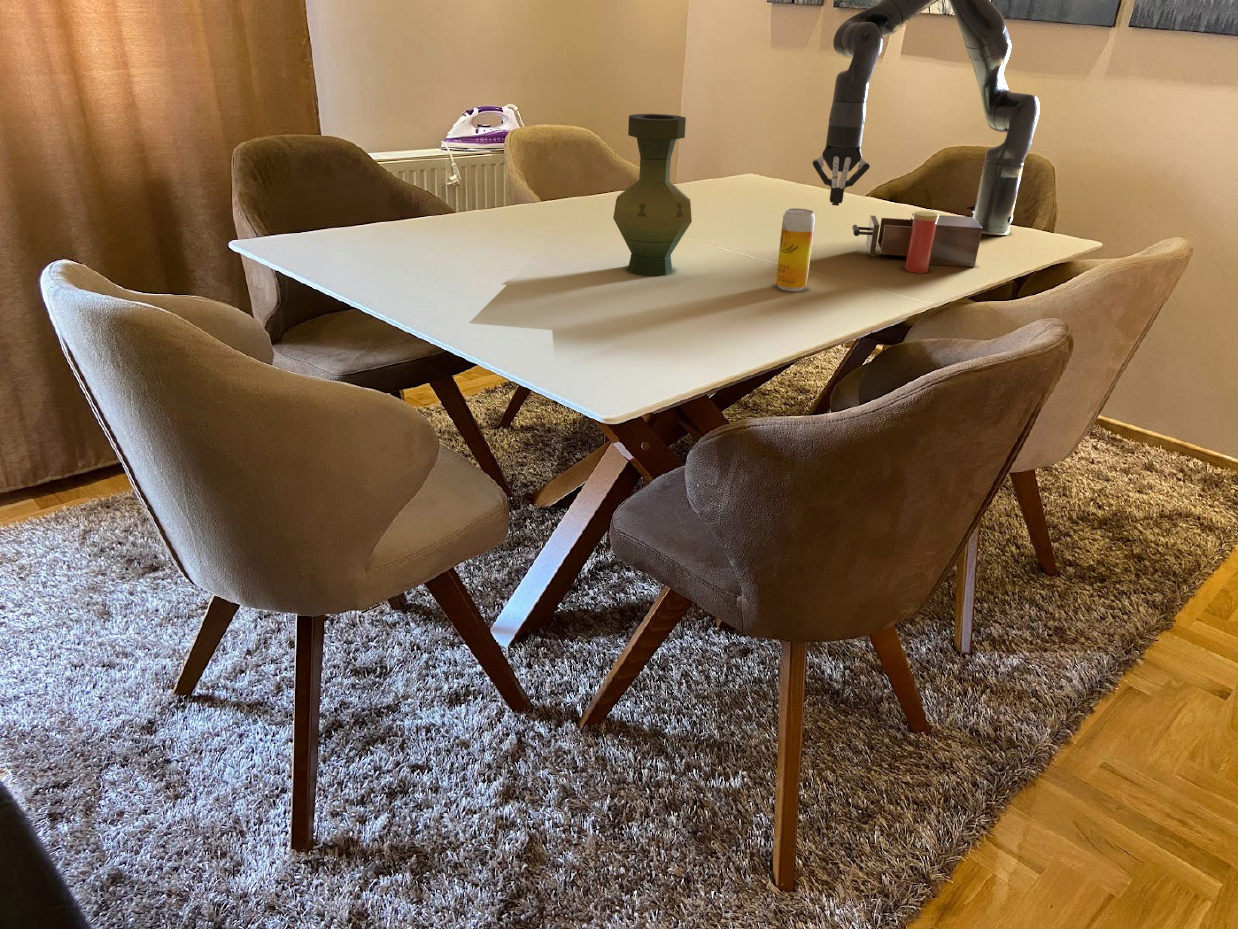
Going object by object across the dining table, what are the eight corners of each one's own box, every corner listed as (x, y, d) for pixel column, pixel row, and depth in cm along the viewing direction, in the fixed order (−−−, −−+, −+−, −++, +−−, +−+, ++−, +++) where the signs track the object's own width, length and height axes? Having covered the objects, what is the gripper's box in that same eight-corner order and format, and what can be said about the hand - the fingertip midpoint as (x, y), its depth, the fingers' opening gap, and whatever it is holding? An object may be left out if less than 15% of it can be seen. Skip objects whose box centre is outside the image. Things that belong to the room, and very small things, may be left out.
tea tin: (903, 266, 202) (912, 210, 196) (926, 267, 201) (936, 212, 196) (905, 272, 197) (915, 215, 192) (929, 273, 197) (940, 216, 191)
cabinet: (911, 262, 205) (918, 223, 201) (905, 250, 215) (911, 213, 211) (974, 267, 203) (982, 227, 199) (965, 254, 213) (972, 217, 210)
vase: (697, 265, 197) (708, 115, 183) (677, 283, 183) (687, 124, 170) (625, 256, 201) (630, 110, 188) (600, 274, 188) (603, 117, 174)
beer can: (772, 283, 186) (780, 207, 179) (801, 283, 186) (811, 208, 180) (779, 291, 180) (788, 214, 174) (809, 292, 181) (819, 214, 174)
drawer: (851, 254, 207) (856, 223, 204) (848, 243, 216) (852, 214, 213) (926, 259, 205) (932, 228, 202) (920, 248, 214) (925, 218, 211)
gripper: (876, 123, 202) (863, 203, 210) (815, 119, 204) (805, 199, 212) (879, 126, 196) (866, 210, 203) (816, 123, 197) (805, 205, 205)
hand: (835, 204), depth 208 cm, fingers closed
